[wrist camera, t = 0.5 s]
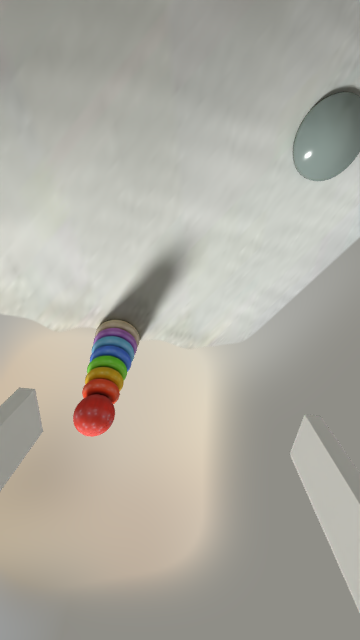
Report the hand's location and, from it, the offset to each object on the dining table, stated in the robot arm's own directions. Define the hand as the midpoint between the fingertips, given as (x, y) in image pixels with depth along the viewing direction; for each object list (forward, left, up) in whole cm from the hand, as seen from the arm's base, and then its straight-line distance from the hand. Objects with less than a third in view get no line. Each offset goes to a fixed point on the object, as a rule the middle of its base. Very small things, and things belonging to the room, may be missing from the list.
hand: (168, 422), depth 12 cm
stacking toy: (+9, -18, -27) cm, 34 cm away
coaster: (+2, +22, -27) cm, 35 cm away
